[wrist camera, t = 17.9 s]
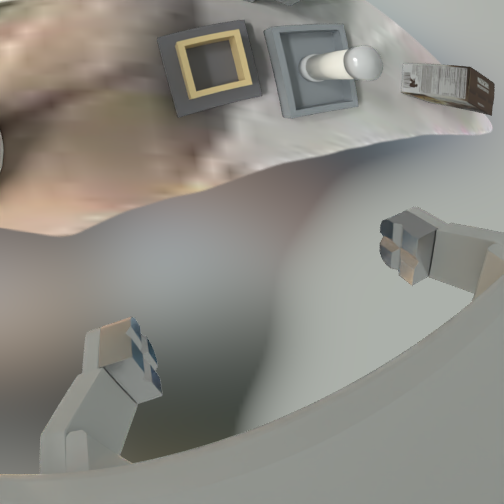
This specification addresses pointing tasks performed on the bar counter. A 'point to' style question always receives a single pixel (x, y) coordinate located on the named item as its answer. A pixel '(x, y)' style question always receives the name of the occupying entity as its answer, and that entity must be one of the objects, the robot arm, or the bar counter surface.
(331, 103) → the parts tray
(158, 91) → the bar counter surface
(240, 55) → the block
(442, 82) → the coffee box
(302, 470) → the robot arm
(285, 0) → the circuit breaker
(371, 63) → the cylinder
